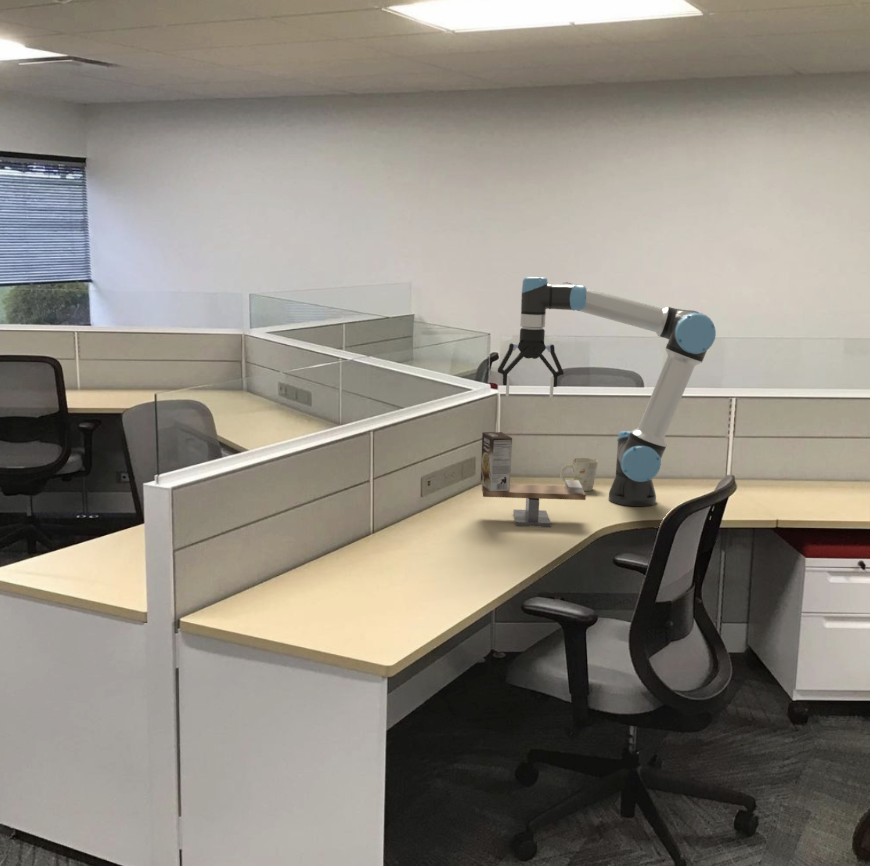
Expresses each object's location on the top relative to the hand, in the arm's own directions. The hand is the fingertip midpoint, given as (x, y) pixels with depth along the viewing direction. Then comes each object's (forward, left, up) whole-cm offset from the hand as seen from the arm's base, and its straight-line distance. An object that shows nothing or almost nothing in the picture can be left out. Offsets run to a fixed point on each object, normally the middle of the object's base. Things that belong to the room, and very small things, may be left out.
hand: (529, 396), depth 311 cm
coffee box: (+10, +17, -25) cm, 32 cm away
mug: (-20, -24, -35) cm, 47 cm away
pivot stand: (-1, +17, -35) cm, 39 cm away
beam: (-1, +17, -27) cm, 32 cm away
